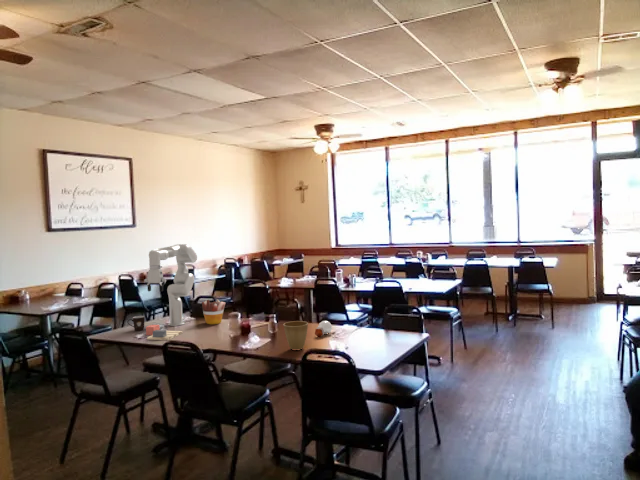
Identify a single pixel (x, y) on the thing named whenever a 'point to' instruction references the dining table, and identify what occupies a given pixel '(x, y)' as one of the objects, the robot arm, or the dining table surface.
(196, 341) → the dining table surface
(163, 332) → the coupler nose
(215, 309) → the bucket of meat
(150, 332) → the block
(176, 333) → the slatted wooden trivet
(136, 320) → the coffee mug
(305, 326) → the plant pot
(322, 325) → the potion bottle
